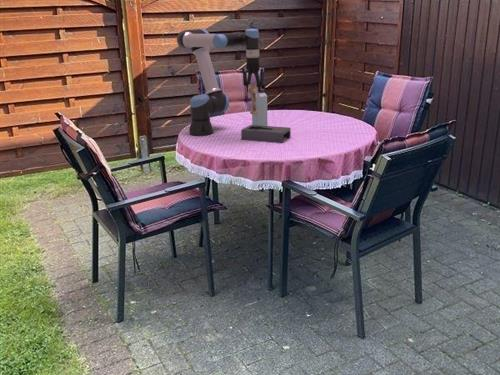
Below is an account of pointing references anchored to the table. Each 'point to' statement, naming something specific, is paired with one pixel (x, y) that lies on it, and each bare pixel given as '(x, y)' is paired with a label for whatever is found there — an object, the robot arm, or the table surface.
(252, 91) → the peg
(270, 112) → the table surface
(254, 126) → the keyhole plate
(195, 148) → the table surface
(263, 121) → the water bottle
